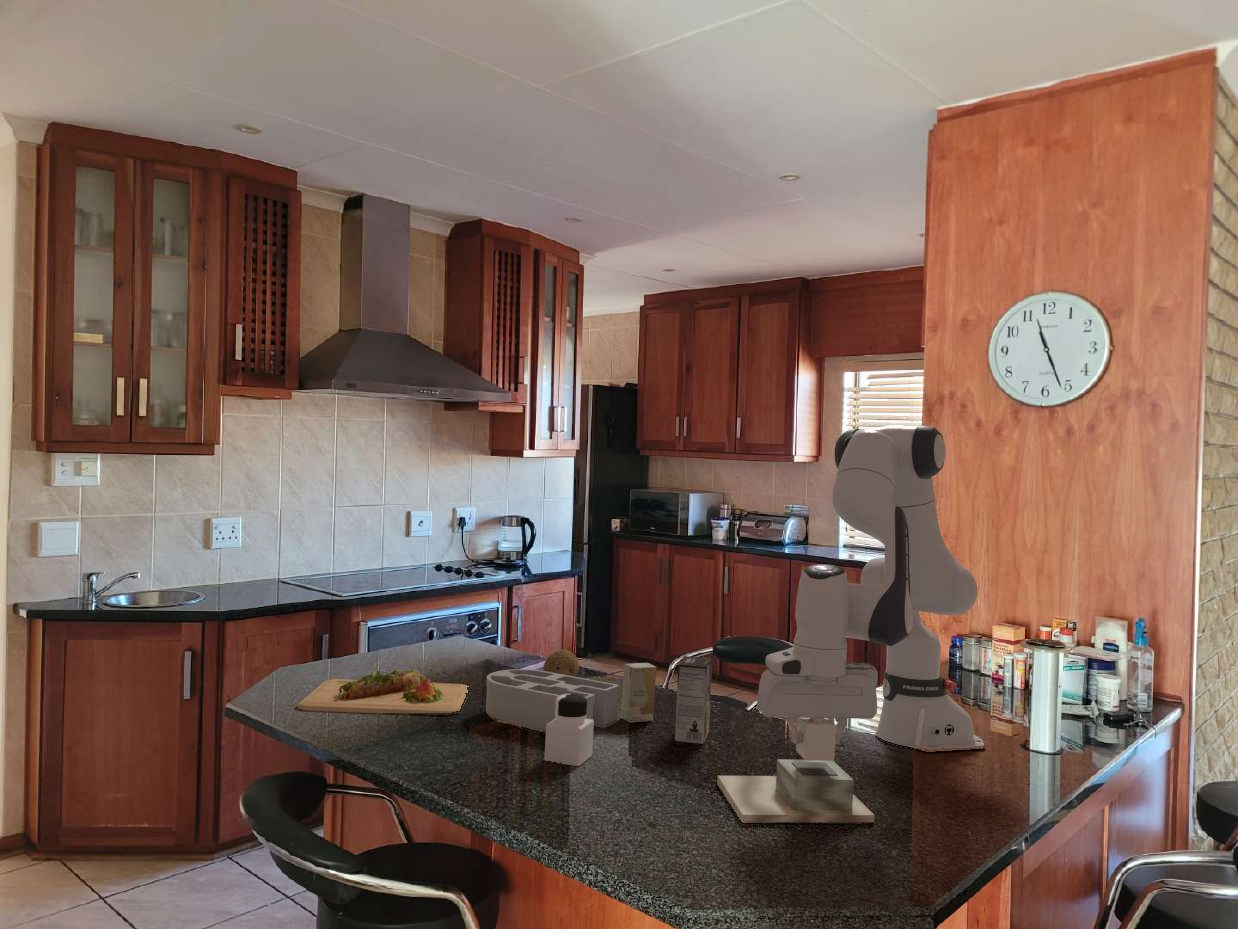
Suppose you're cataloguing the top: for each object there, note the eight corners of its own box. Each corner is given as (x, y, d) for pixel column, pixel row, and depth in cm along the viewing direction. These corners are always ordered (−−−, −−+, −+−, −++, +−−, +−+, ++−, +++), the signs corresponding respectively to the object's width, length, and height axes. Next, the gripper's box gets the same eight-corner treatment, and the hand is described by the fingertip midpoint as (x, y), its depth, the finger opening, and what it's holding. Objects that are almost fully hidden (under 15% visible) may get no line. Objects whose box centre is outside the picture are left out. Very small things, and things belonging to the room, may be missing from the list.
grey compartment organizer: (578, 743, 183) (580, 700, 183) (469, 718, 197) (471, 678, 197) (618, 724, 198) (620, 685, 198) (514, 702, 211) (515, 665, 211)
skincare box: (629, 723, 198) (632, 667, 198) (620, 718, 202) (622, 663, 202) (654, 721, 201) (657, 666, 201) (645, 715, 205) (647, 661, 205)
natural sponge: (576, 695, 220) (578, 654, 220) (540, 693, 220) (542, 652, 220) (578, 686, 229) (580, 646, 229) (543, 684, 229) (545, 645, 229)
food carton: (679, 729, 196) (683, 655, 196) (709, 732, 194) (713, 657, 194) (673, 741, 187) (677, 663, 187) (704, 744, 185) (708, 666, 185)
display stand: (835, 784, 165) (836, 748, 165) (874, 824, 147) (876, 783, 147) (717, 784, 163) (719, 746, 163) (742, 824, 145) (744, 782, 145)
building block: (824, 751, 156) (826, 711, 156) (834, 760, 151) (836, 720, 151) (795, 750, 155) (797, 711, 155) (805, 760, 150) (807, 719, 150)
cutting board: (471, 692, 220) (472, 661, 220) (458, 719, 197) (459, 685, 197) (326, 686, 219) (327, 655, 219) (295, 713, 196) (297, 678, 196)
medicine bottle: (592, 756, 175) (595, 694, 175) (579, 767, 168) (582, 702, 168) (558, 750, 177) (561, 689, 177) (543, 761, 170) (546, 697, 170)
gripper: (870, 659, 158) (866, 738, 158) (756, 656, 155) (752, 736, 155) (885, 667, 151) (881, 749, 151) (766, 664, 149) (762, 748, 149)
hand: (815, 743), depth 153 cm, fingers closed on building block, 5 cm apart
